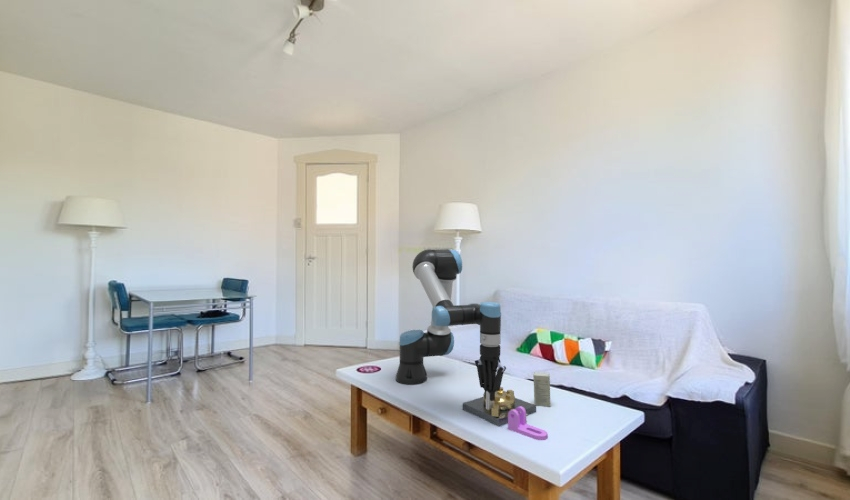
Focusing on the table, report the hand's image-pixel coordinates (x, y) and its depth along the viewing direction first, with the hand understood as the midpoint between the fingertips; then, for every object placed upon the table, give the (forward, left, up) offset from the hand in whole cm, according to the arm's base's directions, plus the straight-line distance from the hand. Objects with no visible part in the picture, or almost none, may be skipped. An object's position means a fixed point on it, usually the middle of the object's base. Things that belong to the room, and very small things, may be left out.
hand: (489, 408), depth 142 cm
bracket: (+16, +3, -4) cm, 16 cm away
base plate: (-1, +9, -4) cm, 10 cm away
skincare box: (+3, +28, -4) cm, 28 cm away
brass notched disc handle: (-1, +6, -1) cm, 6 cm away
